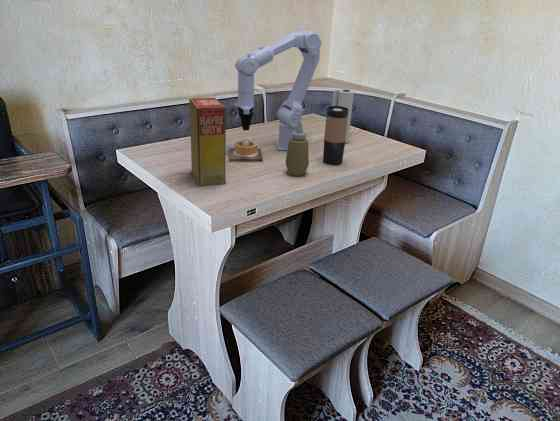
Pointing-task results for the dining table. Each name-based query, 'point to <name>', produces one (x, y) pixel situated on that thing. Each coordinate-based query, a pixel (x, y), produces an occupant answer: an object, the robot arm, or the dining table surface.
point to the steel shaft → (246, 143)
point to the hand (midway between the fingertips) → (245, 128)
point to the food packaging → (208, 140)
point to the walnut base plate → (245, 156)
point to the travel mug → (335, 135)
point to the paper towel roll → (344, 105)
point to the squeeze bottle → (297, 152)
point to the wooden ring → (245, 148)
